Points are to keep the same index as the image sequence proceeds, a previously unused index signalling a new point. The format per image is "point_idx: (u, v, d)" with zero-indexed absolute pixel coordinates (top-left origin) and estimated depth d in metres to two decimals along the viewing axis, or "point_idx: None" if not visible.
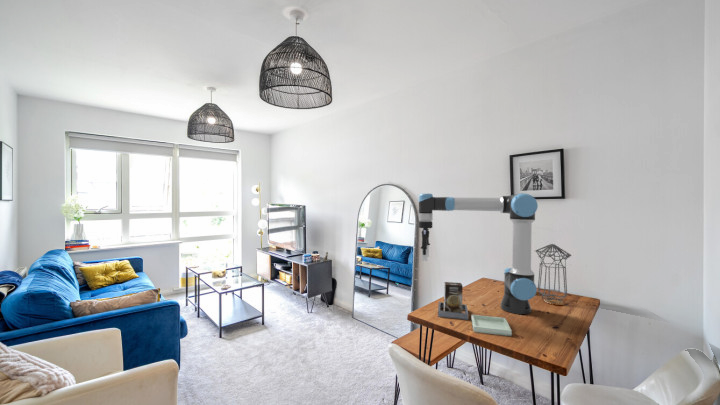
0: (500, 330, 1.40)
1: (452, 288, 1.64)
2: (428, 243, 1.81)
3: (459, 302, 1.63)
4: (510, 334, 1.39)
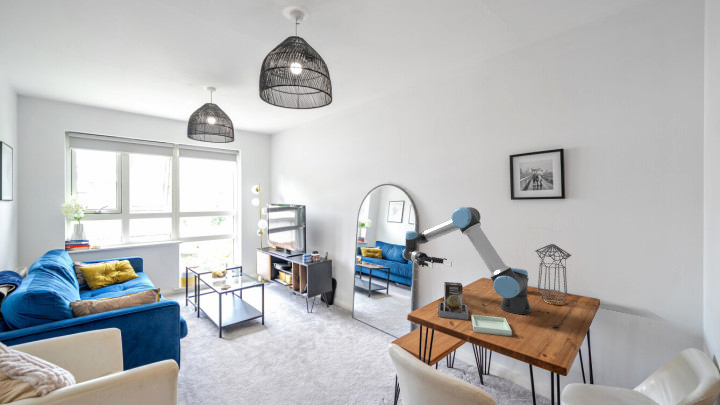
0: (500, 330, 1.40)
1: (452, 288, 1.64)
2: (443, 259, 1.85)
3: (459, 302, 1.63)
4: (510, 334, 1.39)
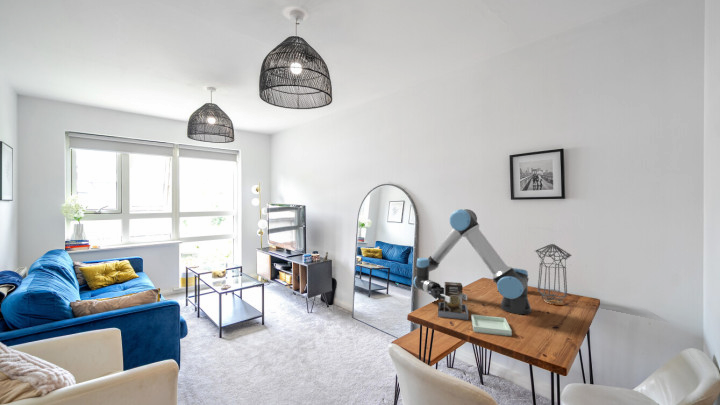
0: (500, 330, 1.40)
1: (452, 288, 1.63)
2: None
3: (459, 302, 1.63)
4: (510, 334, 1.39)
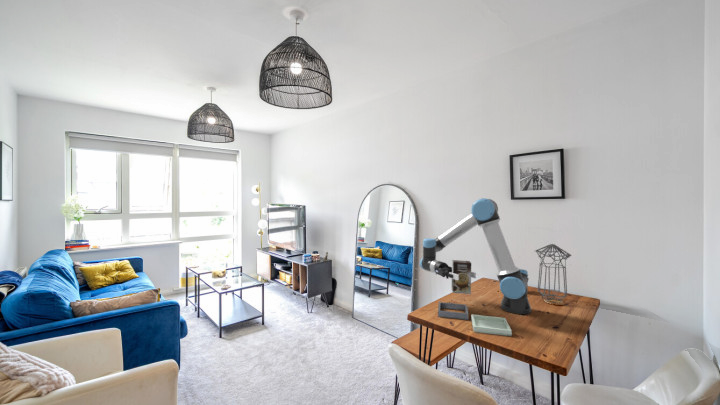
0: (500, 330, 1.40)
1: (461, 265, 1.58)
2: None
3: (467, 280, 1.57)
4: (510, 334, 1.39)
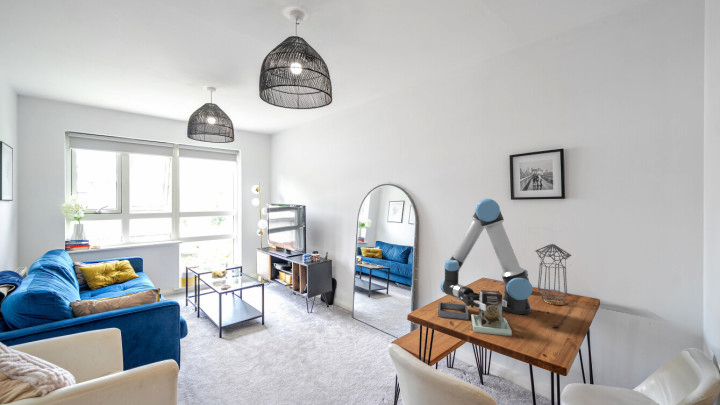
0: (500, 330, 1.40)
1: (491, 297, 1.45)
2: None
3: (498, 313, 1.45)
4: (510, 334, 1.39)
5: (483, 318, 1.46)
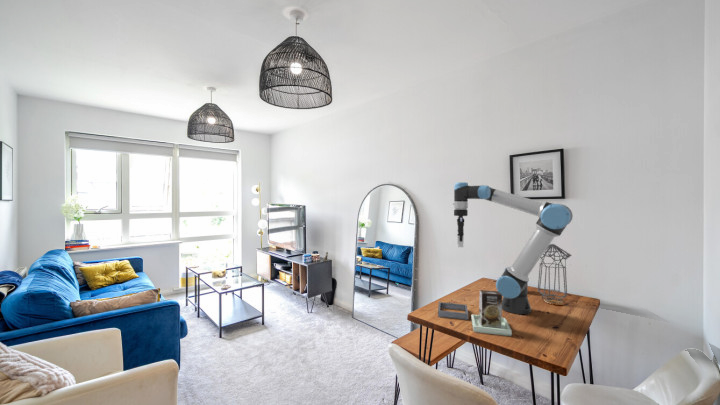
0: (500, 330, 1.40)
1: (490, 297, 1.45)
2: None
3: (498, 313, 1.45)
4: (510, 334, 1.39)
5: (483, 318, 1.46)
